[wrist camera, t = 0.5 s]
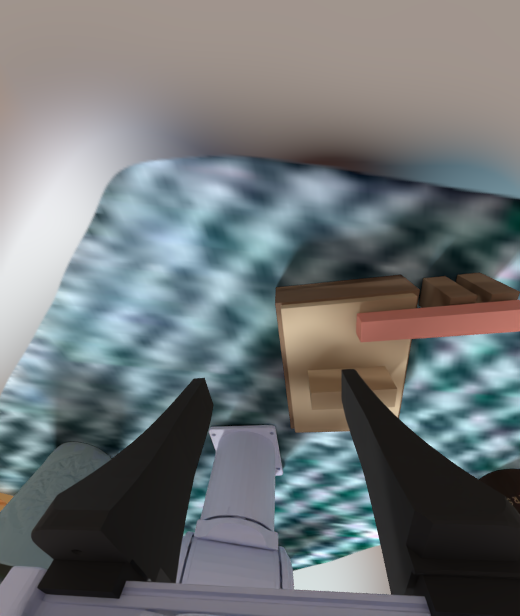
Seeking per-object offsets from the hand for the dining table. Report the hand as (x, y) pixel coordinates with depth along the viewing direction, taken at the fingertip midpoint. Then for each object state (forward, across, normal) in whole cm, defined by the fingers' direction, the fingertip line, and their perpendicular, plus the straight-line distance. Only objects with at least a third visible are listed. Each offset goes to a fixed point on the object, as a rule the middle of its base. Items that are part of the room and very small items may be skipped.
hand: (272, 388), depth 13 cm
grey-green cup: (+10, +30, +22) cm, 39 cm away
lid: (+7, -5, +5) cm, 10 cm away
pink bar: (+6, -11, 0) cm, 12 cm away
